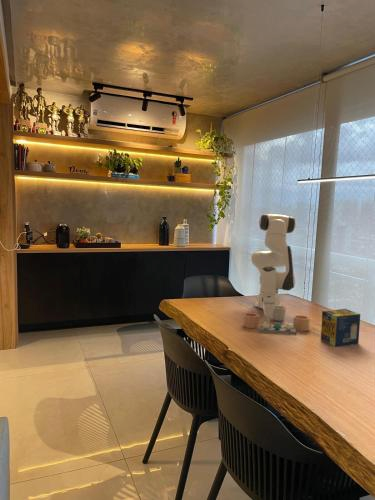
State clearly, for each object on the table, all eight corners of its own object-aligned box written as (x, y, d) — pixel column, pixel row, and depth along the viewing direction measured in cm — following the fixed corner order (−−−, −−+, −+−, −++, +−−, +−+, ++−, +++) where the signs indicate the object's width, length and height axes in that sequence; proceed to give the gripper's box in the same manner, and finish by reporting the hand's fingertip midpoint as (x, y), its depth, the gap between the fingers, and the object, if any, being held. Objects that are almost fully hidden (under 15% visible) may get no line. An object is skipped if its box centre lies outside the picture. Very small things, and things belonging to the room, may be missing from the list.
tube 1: (243, 323, 218) (243, 312, 217) (258, 324, 217) (258, 313, 216) (243, 327, 209) (243, 316, 209) (259, 328, 208) (259, 317, 208)
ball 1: (262, 327, 207) (262, 320, 207) (269, 327, 207) (269, 320, 206) (262, 329, 203) (263, 322, 203) (270, 330, 203) (270, 322, 202)
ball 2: (273, 328, 206) (273, 321, 206) (280, 328, 206) (280, 321, 206) (273, 330, 202) (274, 323, 202) (281, 330, 202) (281, 323, 202)
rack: (260, 332, 202) (260, 329, 201) (259, 328, 209) (259, 325, 209) (296, 334, 199) (296, 331, 199) (293, 329, 207) (293, 327, 207)
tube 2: (292, 326, 214) (292, 314, 214) (307, 326, 213) (308, 315, 213) (294, 330, 206) (295, 319, 205) (310, 331, 205) (311, 319, 204)
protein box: (320, 340, 191) (321, 310, 189) (343, 337, 196) (345, 308, 195) (334, 347, 181) (336, 316, 179) (359, 343, 186) (361, 313, 185)
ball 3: (284, 328, 206) (284, 321, 205) (291, 329, 205) (291, 322, 205) (285, 330, 202) (285, 323, 201) (292, 331, 201) (293, 324, 201)
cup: (265, 319, 226) (266, 307, 225) (269, 316, 233) (269, 304, 232) (283, 322, 221) (284, 309, 220) (286, 319, 228) (287, 306, 227)
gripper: (260, 292, 214) (259, 316, 215) (263, 300, 193) (262, 326, 194) (271, 293, 213) (270, 316, 214) (275, 300, 193) (274, 327, 194)
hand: (267, 321), depth 204 cm, fingers open, 8 cm apart
